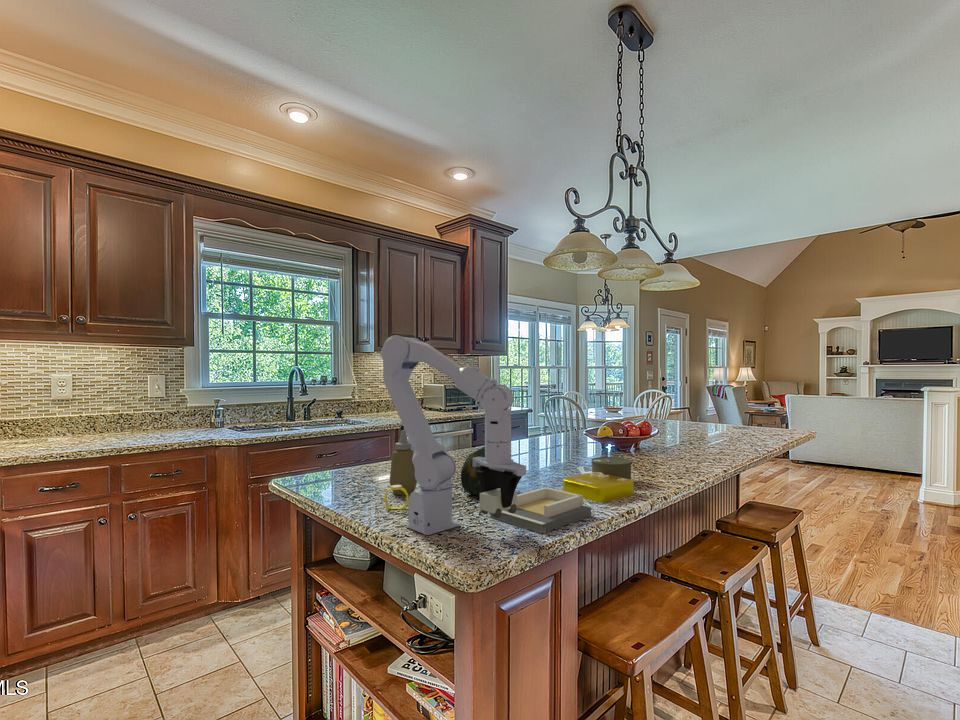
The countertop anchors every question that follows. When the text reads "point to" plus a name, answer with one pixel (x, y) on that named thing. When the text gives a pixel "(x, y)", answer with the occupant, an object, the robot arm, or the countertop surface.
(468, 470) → the squash
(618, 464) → the can
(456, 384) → the robot arm
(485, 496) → the upright pale green block
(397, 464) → the squeeze bottle
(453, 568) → the countertop surface
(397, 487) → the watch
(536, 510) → the dock
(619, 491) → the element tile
